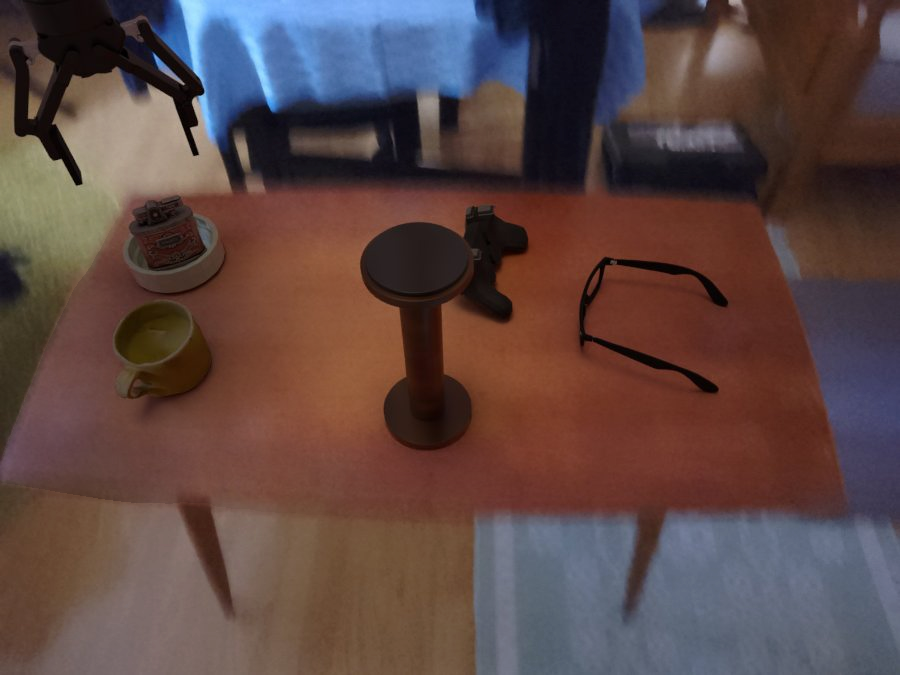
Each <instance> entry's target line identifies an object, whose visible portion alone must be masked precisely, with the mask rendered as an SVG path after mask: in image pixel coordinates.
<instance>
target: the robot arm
mask: <svg viewBox="0 0 900 675" xmlns="http://www.w3.org/2000/svg"><path fill="white" fill-rule="evenodd" d="M19 1H20V3H21V5H22V7H23V9H24V11H25V13H26V15H27V18H28V19H29V21H30V23H31V25H32V27H33V29H34V32H35V34H36V36H37V38H36V39H35V40H34V39H33V40H25V41H22V40H21V39H20V38H18V37H14V36H13V37H10V38H9V39H8V55H9V57H10V60H11V62H12V65H13V67H14V94H13V96H14V97H13V131H14V135H16V136H17V137H19V138H25V137H26V136H34V137H36V138H38V140H39V141H40V143H41V145H42V147H43V149H44V150H45V153H47V155H48V157H49V159H51V160H52V161H53V162H55V161H59V160H60V161H62V163H63V165H64V167H65V169H66V170H67V172H68V174H69V176H70V177H71V179H72V182H73V183H74V185H75V187H78V186H81V185H83V182H84V181H83V176H82V171H81V169H80V167H79V165H78V163H77V162H76V159H75V158H74V155H73V154H72V151H71V150H70V148H69V146H68V144H67V142H66V140H65V138H64V136H63V134H62V132H61V131H60V129H59V127H58V125H57V124H56V123H54V121H55V118H56V116H57V113H58V111H59V108H60V106H61V102H62V100H63V98H64V95H65V93H66V90H67V88H69V86H70V83H71V81H72V78H73V76H75V77H78V78H79V77H80V78H81V79H87V78H91V77H92V76H95V75H96V74H99V75H100V74H101V75H102V74H104V75H106V74H109V73H113V70H115V69H116V68H118V69H120V70H122V71H123V72H125V73H127V74H129V75H130V74H131V75H133V76H135V77H136V78H138V79H140V80H141V81H143V82H145V83H146V84H147V85H150V86H151V87H153V88H155V89H156V90H158V91H160V92H161V93H163V94H165V95H167V96H168V97H169V98H171V99H172V102H173V104H174V107H175V111H176V113H177V116H178V119H179V121H180V124H181V126H182V129H183V132H184V135H185V139H186V140H187V143H188V146H189V149H190V151H191V154H192V157H197V156H200V152H199V148H198V147H197V144H196V141H195V138H194V135H193V133H192V129H191V128H196V127H199V119H198V117H197V114H196V111H195V107H194V104H193V100H194V99H195V98H196V97H201V96H204V94H205V93H206V90H205V87H204V85H203V82H202V80H201V78H200V76H198V74H196V72H194V70H193V69H192V68H191V67H190V66H189V65H188V64H186V62H185V61H184V60H183V59H182V58H181V57H180V56H179V55H178V54H177V53H176V52H175V51H174V50H173V49H172V48H171V47H170V46H169V45H168V44H167V43H166V42H165V41H164V40H163V39H162V38H161V37H160V36H159V35H158V33H156V32H155V31H154V29H153V26H152V24H151V23H150V21H149V18H148V16H147V15H146V14H145V13H143V12H137V13H136V14H135V15H134V18H133V19H130V20H126V21H124V22H120V21H119V20H117V18H116V17H115V15H114V13H113V11H112V8H111V6H110V3H109V0H19ZM128 36H129V37H132V38H134V39H135V40H136V42H139V43H145V45H146V46H147V48H148V49H149V50H150V51H151V52H152V53H153V54H154V55H155V56H156V57H157V58H158V59H159V60H160V61H161V62H162V63H163V64H164V65H165V66H166V67H167V68H168V69H169V70H170V72H172V73H173V74H174V75H175V76H176V77H177V78H178V79H179V80H180V81H181V82H180V81H178V80H176V79H175V78H173V77H172V76H170V75H168V74H166V73H165V72H163V71H161V70H160V69H158V68H157V67H155V66H154V65H152V64H150V63H149V62H147V61H145V60H144V59H143V58H141V57H139V56H138V55H136V54H135V53H134V52H132V50H131V49H129V48H128V47H126V46H125V43H126V39H127V37H128ZM38 55H41V56H43V57H44V58H46V59H47V60H49V61H51V62H52V63H54V65H53V68H52V72H51V75H50V78H49V80H48V84H47V85H46V88H45V91H44V93H43V96H42V98H41V102H40V104H39V107H38V109H37V112H36V114H35V116H33V118H29V107H30V106H29V105H30V103H29V101H30V79H31V78H30V66H33V65H34V64H35V63H36V57H37V56H38Z"/></svg>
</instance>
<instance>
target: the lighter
mask: <svg viewBox="0 0 900 675" xmlns="http://www.w3.org/2000/svg"><path fill="white" fill-rule="evenodd" d="M131 213H132V215H133V217H134V220H132V221H131V222H130V223H129V224H128V230H129V232H130V234H132V235H133V236H134V237H135V239H136V241H137V243H138V245H139V247H140V249H141V251H142V253H143V255H144V257H145V259H146V261H147V266H148V268H149V270H152V271H168V270H173V269H177V268H180V267H184V266H186V265H188V264H190V263H192V262H194V261H196V260H197V259H198V258H200V257H201V256H202V255H203V254H204V253H205V252H206V251H207V248H206V246H205V244H203V241H202V239H201V236H200V234H199V231H198V229H197V226H196V223H195V221H194V218H193V213H194V212H193V210H192V208H191V207H190V206H189V205H185V204H184V202H183V200H182V197H181V195H179V194H175V195H172V196H168V197H165V198H162V199H160V200H157V201H156V200H155V199H149V200H147V201H145V204H144V205H142V206H138V207H136V208H133V209H132V210H131Z"/></svg>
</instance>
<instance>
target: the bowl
mask: <svg viewBox="0 0 900 675" xmlns="http://www.w3.org/2000/svg"><path fill="white" fill-rule="evenodd" d="M193 218H194V221H195V223H196V226H197V229H198V231H199V234H200V236H201V239H202V241H203V244H205V246H206V248H207V251H206V252H205V253H204V254H203V255H202V256H201V257H200V258H198V259H197V260H196V261H194V262H192V263H190V264H188V265H186V266H184V267H180V268H177V269H173V270H168V271H152V270H149V268H148V266H147V261H146V259H145V257H144V255H143V253H142V251H141V249H140V247H139V245H138V243H137V241H136V239H135V237H134V236H133V235H132V234H131V233H130V234H129V235H128V237H127V238H126V239H125V241H124V244H123V246H122V256H123V261H124V263H125V264H126V267H127V268H128V270H129V272H130V274H131V276H132V278H133V279H134V281H136V283H137V285H139V286H140V287H141V288H144V289H146V290H147V291H150V292H155V293H161V294H173V293H179V292H180V293H181V292H185V291H188V290H191V289H195V288H196V287H198V286H200V285H203V284H204V283H206V282H207V281H208V280H209V279H211V278H212V277H213V276H214V275H215V274H216V273H218V271H219V269H220V267H221V266H222V265H223V263H224V260H225V254H226V253H225V252H226V251H225V247H224V245H223V242H222V238H221V236H220V234H219V231H218V228H217V225H216V224H215V223H214V222H213V221H212V220H211V219H210V218H209V217H206V216H205V215H202V214H199V213H196V212H193Z"/></svg>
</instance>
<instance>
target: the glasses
mask: <svg viewBox="0 0 900 675" xmlns="http://www.w3.org/2000/svg"><path fill="white" fill-rule="evenodd" d="M615 265H616V266H621V267H627V268H628V267H629V268H634V269H635V268H636V269H638V270H639V269H641V270H645V271H652V272H657V273H663V274H667V275H671V276H680V275H688V276H693V277H695V278H696V279H697V280H698V281H699V282H700V283H701V284H702V286H703V288H704V289H705V291H706V292H707V294H708V296H709V298H710V299H711V301H712V302H713V303H714V304H716V305H718V306H720V307H727V306H728V305H729V300H728V299H727V297H726V296H725V295H724V294H723V292H722V291H720V289H719V288H718V287H717V285H716V284H715V283H714V282H713V281H712V280H711V279H710V278H708V277H707V276H706V275H704V274H702V273H701V272H699V271H697V270H694V269H692V268H690V267H686V266H684V265H679V264H674V263H667V262H661V261H654V260H653V261H651V260H641V259H640V260H639V259H628V258H627V259H625V258H614V257H610V256H604V257H603V258H602V259H601V260H600V261H599V262H598V263H597V264H596V265H595V267H594V268H593V270H592V271H591V272H590V274H589V276H588V278H587V280H586V282H585V284H584V288H583V290H582V294H581V298H580V300H579V310H578V322H579V346H580V347H583V346H585V342H590V343H594V344H597V345H599V346H602V347H604V348H606V349H608V350H609V351H612V352H614V353H617V354H618V355H622V356H624V357H626V358H628V359H631V360H632V361H633V360H634V361H635V362H638V363H640V364H642V365H645V366H647V367H649V368H651V369H655V370H662V371H672V372H673V371H674V372H676V373H680V374H681V375H683V376H685V377H686V378H687V379H689V381H691V382H692V383H693V384H694V385H695V387H697V388H698V389H700V390H701V391H704V392H706V393H712V394H713V393H718V392H719V390H720V388H719V387H718V385H717V384H715V383H714V382H712V381H711V380H709V379H707V378H706V377H705V376H702V375H700V374H699V373H697V372H695V371H692V370H690V369H687V368H686V367H685V368H684V367H683V366H679V365H676V364H674V363H671V362H668V361H666V360H663V359H661V358H658V357H655V356H652V355H650V354H647V353H644V352H641V351H639V350H636V349H633V348H630V347H626V346H624V345H620V344H617V343H614V342H611V341H609V340H605V339H602V338H599V337H597V336H595V335H591V334H588V333H586V330H585V318H586V315H587V305H590V304H591V303H592V301H593V300H594V298H595V297H596V295H597V294H598V291H599V290H600V288H601V285H602V282H603V279H604V275H605V271H606V270H605V269H606V266H611V267H612V266H615ZM598 271H599V272H598ZM597 272H598V279H597V282H596V284H595V287H594V289H593V290H592V292H591V294H588V290H589V288H590V285H591V283H592V281H593V279H594V276H595V275H596V273H597Z"/></svg>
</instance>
